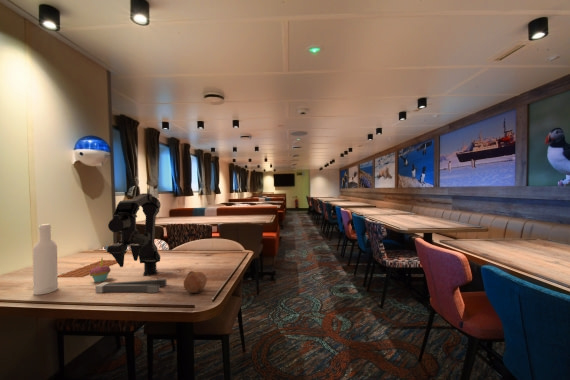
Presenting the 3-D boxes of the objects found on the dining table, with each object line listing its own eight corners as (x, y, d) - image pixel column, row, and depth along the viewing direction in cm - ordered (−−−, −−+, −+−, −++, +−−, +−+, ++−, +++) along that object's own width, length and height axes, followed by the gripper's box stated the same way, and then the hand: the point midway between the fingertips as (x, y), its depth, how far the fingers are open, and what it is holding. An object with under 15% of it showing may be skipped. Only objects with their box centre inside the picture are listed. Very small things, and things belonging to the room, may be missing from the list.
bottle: (35, 296, 103) (35, 226, 103) (30, 292, 107) (29, 225, 107) (60, 289, 110) (59, 223, 110) (54, 286, 114) (53, 222, 114)
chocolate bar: (123, 261, 155) (123, 259, 155) (81, 278, 126) (81, 276, 126) (101, 261, 156) (101, 259, 156) (55, 278, 126) (55, 276, 126)
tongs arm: (108, 289, 108) (108, 283, 108) (111, 287, 111) (111, 282, 111) (164, 286, 112) (164, 280, 112) (166, 284, 114) (166, 278, 114)
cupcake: (114, 278, 123) (114, 255, 123) (95, 284, 115) (95, 259, 115) (104, 276, 126) (104, 253, 126) (85, 282, 119) (85, 257, 119)
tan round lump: (187, 298, 105) (178, 277, 107) (207, 287, 111) (199, 267, 112) (190, 298, 98) (181, 275, 99) (212, 286, 103) (203, 264, 105)
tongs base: (94, 293, 106) (94, 286, 106) (103, 288, 110) (103, 282, 110) (156, 293, 104) (156, 286, 104) (162, 288, 109) (162, 282, 109)
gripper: (132, 232, 98) (132, 270, 98) (157, 225, 117) (158, 257, 117) (105, 232, 98) (106, 270, 98) (135, 225, 117) (135, 257, 117)
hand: (129, 263), depth 108 cm, fingers open, 9 cm apart
